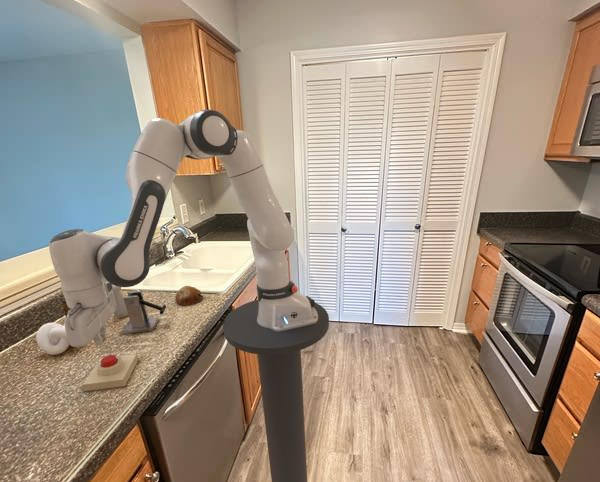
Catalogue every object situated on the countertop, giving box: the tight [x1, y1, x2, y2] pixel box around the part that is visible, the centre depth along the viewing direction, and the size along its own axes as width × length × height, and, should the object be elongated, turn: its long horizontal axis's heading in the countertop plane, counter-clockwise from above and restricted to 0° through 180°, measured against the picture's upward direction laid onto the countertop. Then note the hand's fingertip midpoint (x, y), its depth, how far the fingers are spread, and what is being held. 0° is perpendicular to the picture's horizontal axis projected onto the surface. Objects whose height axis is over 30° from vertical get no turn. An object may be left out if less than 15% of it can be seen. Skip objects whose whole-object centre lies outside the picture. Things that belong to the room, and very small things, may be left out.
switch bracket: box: [121, 290, 159, 335], centre depth 113 cm, size 10×8×13 cm
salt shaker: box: [112, 285, 129, 319], centre depth 121 cm, size 6×6×13 cm
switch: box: [130, 294, 167, 315], centre depth 112 cm, size 12×5×2 cm, turn 99°
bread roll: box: [175, 285, 204, 306], centre depth 133 cm, size 10×10×8 cm
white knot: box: [35, 322, 71, 356], centre depth 103 cm, size 11×12×9 cm
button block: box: [81, 353, 139, 392], centre depth 90 cm, size 10×12×4 cm
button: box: [100, 354, 117, 368], centre depth 89 cm, size 4×4×2 cm
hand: (101, 342), depth 86 cm, fingers closed
